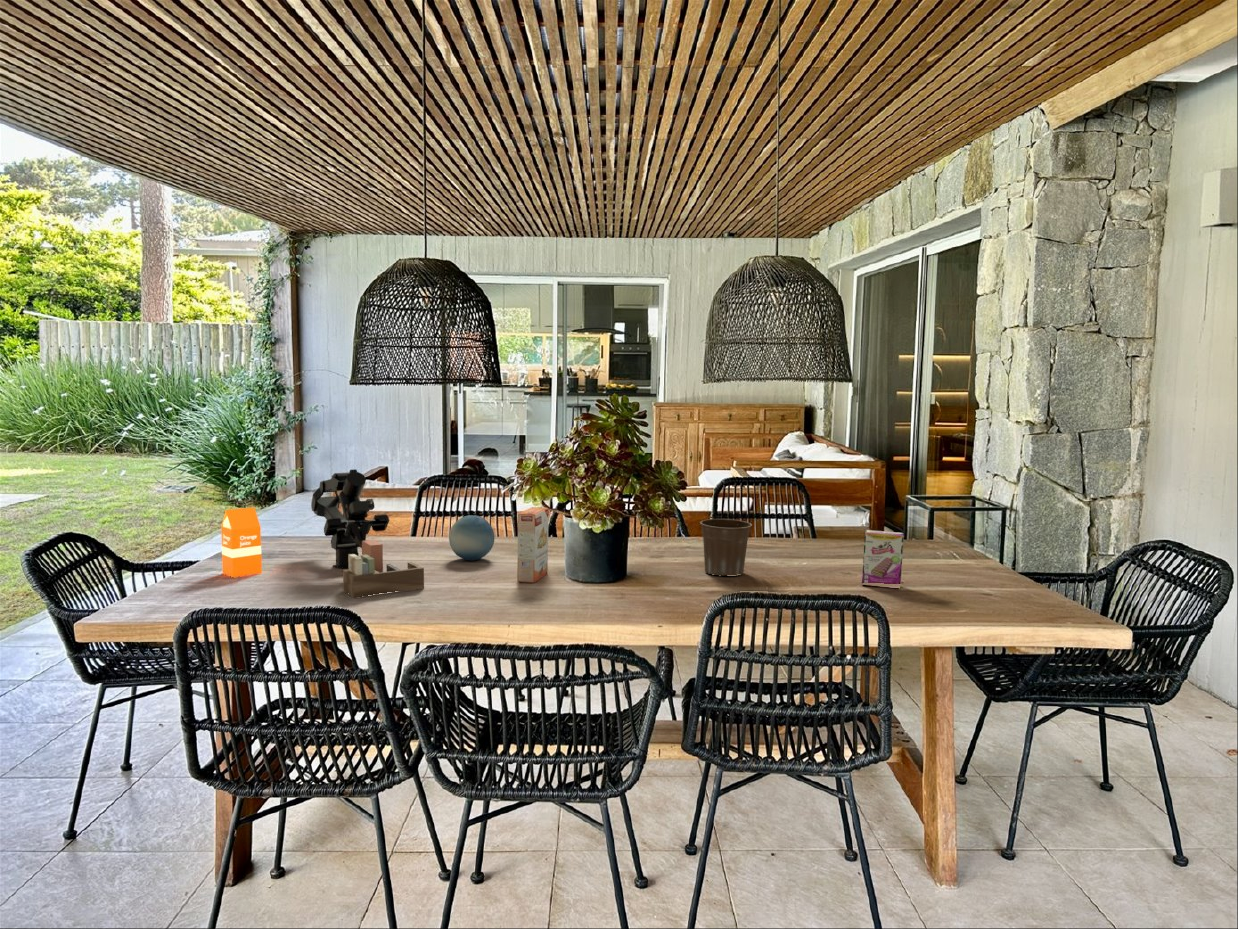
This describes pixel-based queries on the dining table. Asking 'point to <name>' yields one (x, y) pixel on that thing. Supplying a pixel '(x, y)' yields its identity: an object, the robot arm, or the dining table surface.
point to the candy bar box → (882, 557)
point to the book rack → (379, 577)
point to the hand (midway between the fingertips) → (363, 547)
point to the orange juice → (241, 542)
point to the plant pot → (725, 545)
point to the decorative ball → (471, 537)
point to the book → (374, 552)
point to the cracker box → (532, 544)
